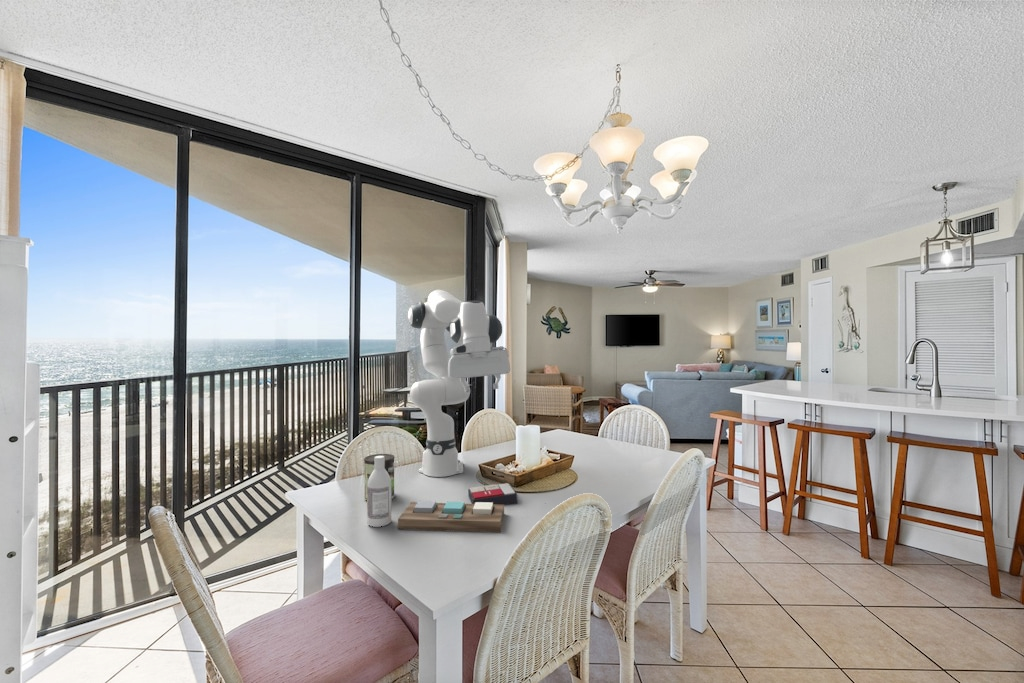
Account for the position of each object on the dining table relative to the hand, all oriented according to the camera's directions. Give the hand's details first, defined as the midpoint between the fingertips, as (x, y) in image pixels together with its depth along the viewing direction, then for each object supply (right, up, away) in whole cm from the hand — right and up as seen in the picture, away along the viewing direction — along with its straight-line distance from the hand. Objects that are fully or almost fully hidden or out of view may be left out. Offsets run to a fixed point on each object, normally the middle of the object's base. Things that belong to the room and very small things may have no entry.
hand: (481, 390), depth 139 cm
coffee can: (-37, -39, +13) cm, 55 cm away
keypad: (-8, -39, -8) cm, 41 cm away
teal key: (-8, -37, -6) cm, 38 cm away
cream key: (+1, -37, -7) cm, 37 cm away
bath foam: (-30, -39, -9) cm, 50 cm away
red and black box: (+3, -40, +10) cm, 41 cm away
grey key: (-17, -37, -5) cm, 41 cm away
